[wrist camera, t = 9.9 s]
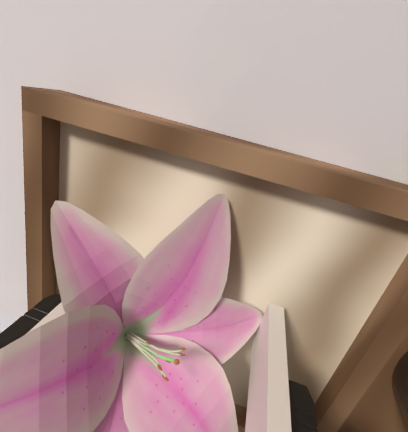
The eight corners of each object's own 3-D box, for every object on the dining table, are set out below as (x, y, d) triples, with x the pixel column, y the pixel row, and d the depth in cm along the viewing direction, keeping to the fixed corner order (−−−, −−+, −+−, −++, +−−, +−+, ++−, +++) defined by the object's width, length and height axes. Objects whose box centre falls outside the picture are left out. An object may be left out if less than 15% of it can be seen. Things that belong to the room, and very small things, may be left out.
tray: (753, 279, 11) (881, 323, 8) (483, 493, 17) (515, 549, 15) (60, 90, 14) (21, 86, 12) (54, 326, 21) (28, 351, 18)
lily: (236, 385, 18) (338, 596, 8) (34, 404, 15) (-148, 729, 6) (246, 197, 17) (367, 194, 8) (38, 187, 15) (-157, 163, 5)
